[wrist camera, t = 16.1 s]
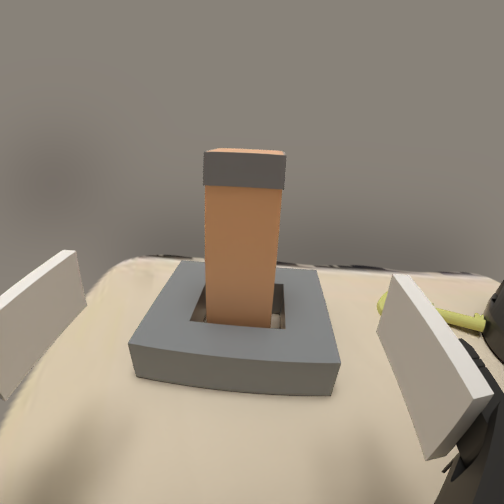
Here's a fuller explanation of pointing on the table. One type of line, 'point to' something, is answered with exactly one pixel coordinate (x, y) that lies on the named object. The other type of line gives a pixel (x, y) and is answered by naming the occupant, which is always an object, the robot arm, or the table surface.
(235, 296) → the plug
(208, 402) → the table surface
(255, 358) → the socket block
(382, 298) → the key
